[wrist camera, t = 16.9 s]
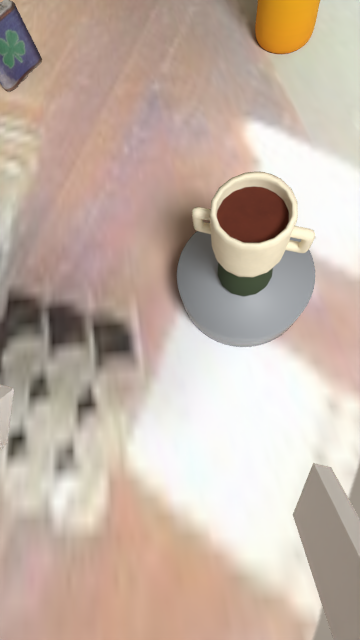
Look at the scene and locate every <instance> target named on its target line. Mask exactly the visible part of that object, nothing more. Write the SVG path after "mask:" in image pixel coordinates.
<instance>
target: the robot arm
mask: <svg viewBox="0 0 360 640" xmlns="http://www.w3.org/2000/svg"><path fill="white" fill-rule="evenodd" d="M13 393H14V388H12V387H8V386H4V385H0V450H1V449H2V448H3V447H4V446H5V445H6V444H7V442H8V434H9V426H10V417H11V409H12V401H13ZM293 517H294V520H295V523H296V526H297V529H298V532H299V535H300V538H301V541H302V544H303V547H304V550H305V554H306V557H307V560H308V563H309V566H310V569H311V572H312V575H313V578H314V581H315V584H316V587H317V590H318V594H319V597H320V600H321V603H322V606H323V609H324V612H325V615H326V618H327V621H328V624H329V627H330V630H331V634H332V636H333V640H360V519H359V517H358V515H357V513H356V511H355V510H354V508H353V506H352V504H351V502H350V501H349V499H348V497H347V495H346V493H345V492H344V490H343V488H342V486H341V484H340V483H339V481H338V479H337V477H336V476H335V474H334V472H333V470H332V468H331V467H327V466H323V465H319V464H315V463H313V465H312V468H311V470H310V473H309V475H308V478H307V480H306V483H305V485H304V488H303V491H302V493H301V496H300V498H299V501H298V503H297V506H296V508H295V511H294V513H293Z"/></svg>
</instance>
